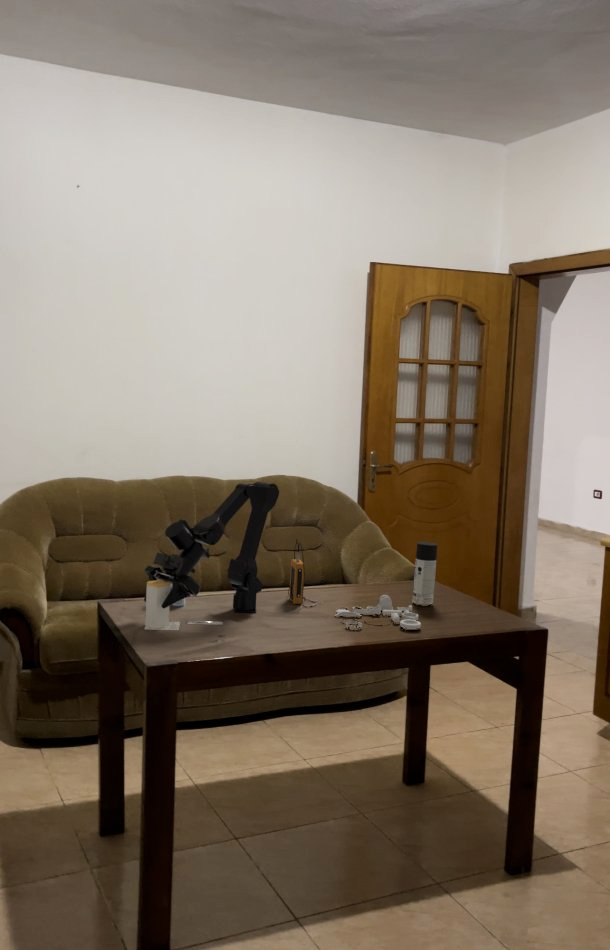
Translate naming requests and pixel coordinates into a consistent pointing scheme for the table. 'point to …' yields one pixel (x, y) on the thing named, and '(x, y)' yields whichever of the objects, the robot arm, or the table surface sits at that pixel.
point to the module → (157, 604)
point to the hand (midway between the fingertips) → (153, 604)
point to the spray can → (424, 573)
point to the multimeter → (297, 580)
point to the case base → (171, 626)
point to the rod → (205, 622)
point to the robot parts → (386, 608)
